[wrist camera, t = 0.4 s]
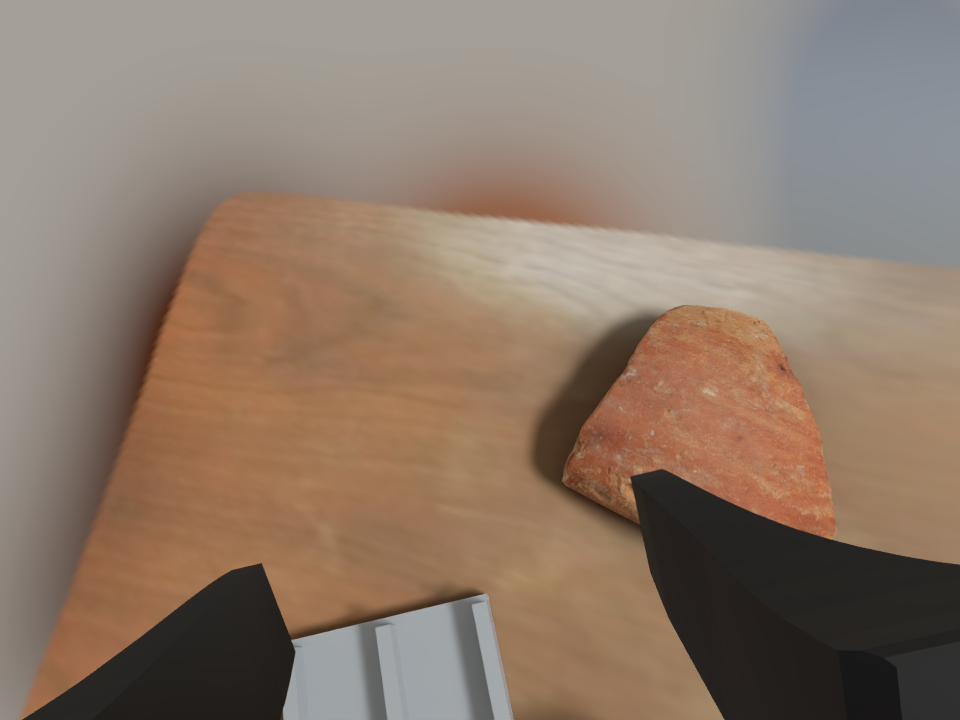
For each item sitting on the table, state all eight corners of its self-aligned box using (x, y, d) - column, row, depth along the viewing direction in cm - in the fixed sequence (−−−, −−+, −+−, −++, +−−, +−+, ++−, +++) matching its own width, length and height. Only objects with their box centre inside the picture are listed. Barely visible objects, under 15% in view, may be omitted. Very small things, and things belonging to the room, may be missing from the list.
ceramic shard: (916, 358, 35) (819, 613, 32) (853, 381, 41) (768, 595, 38) (669, 249, 37) (559, 479, 34) (646, 286, 43) (551, 483, 40)
